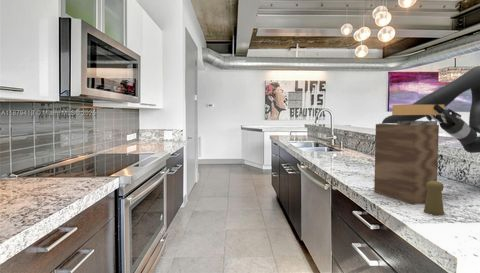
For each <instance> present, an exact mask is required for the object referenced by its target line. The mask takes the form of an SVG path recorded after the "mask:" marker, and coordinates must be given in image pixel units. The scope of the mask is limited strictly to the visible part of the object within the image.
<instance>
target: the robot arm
mask: <svg viewBox="0 0 480 273" xmlns="http://www.w3.org/2000/svg"><path fill="white" fill-rule="evenodd" d="M468 90H470V93H471V105H470V108H469V116H468V123H467V122H466V121H465V120H463V119H462V114H460V113H458V112H456V111H454V110H453V109H450V108H447V109H446V107H448V105H450V104H451V103H452V102H453V101H454V100H456V99H457V98H458V97H459V96H460V95H462V94H463V93H465V92H466V91H468ZM411 105H435V106H434V110H436V111H437V112H438V113H440V115H392V114H391V115H388V116H385V118H384V119H383V120H382V122H381V124H382V123H397V121H419V120H421V119H423V118H426V119H427V121H437V123H438V125H439V128H440V129H442V130H443V131H445V133H446V134H448V135H450V136H451V137H452V138H455V139H456V140H457V141H458V142H459V143H460V144H461V146H462V147H463V149H464V151H465V152H467V153H470V154H474V153H475V154H476V153H480V136H478V134H480V65H477V66H474V67H473V68H471V69H469V70H467V71H466V72H465V73H463V74H461V75H460V76H459V77H457V78H456V79H453V81H451V82H449V83H447V84H446V85H443V86H441V87H440V88H438V89H436V90H434V91H432V92H431V93H428V94H426V95H424V96H423V97H422V98H419V99H418V100H416V101H415V102H413V103H412V104H411ZM439 105H444V108H442V107H440V106H439Z"/></svg>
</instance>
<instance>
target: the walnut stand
mask: <svg viewBox="0 0 480 273" xmlns="http://www.w3.org/2000/svg"><path fill="white" fill-rule="evenodd" d="M439 129H440V124H438V122H437V121H435V120H431V121H429V120H416V121H397V123H382V122H381V123H376V124H375V135H374V136H375V137H374V138H375V139H374V140H375V141H374V142H375V144H374V147H375V148H374V186H373V187H374V190H373V193H376V194H379V195H382V196H385V197H388V198H391V199H395V200H398V201H400V202H403V203H406V204H409V205H419V204H425V202H426V197H427V191H428V190H427V189H426V183H427V182H429V181H438V162H439V138H440V137H439V136H440V135H439V133H440V132H439V131H440V130H439Z"/></svg>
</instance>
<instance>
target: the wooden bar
mask: <svg viewBox="0 0 480 273" xmlns="http://www.w3.org/2000/svg"><path fill="white" fill-rule="evenodd" d="M391 106H392V107H391V109H392V110H391V113H392V114H391V115H435V116H436V115H440V113H438V112H437V111H436V110H434V106H435V105H412V104H392V105H391ZM439 106H440V107H442V108H445V107H444V105H439Z"/></svg>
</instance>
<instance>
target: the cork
mask: <svg viewBox="0 0 480 273" xmlns="http://www.w3.org/2000/svg"><path fill="white" fill-rule="evenodd" d="M444 188H445V186H444V184H443V183H442V182H441V181H438V180H437V181H429V182H427V183H426V189H427V190H428V191H427V197H426V202H425V203H424V209H423V213H425V214H427V213H428V215H430V214H432V215H431V216H439V215H440V216H444V215H445V211H444V210H445V209H444V201H443V193H442V192H443V191H444Z"/></svg>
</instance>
